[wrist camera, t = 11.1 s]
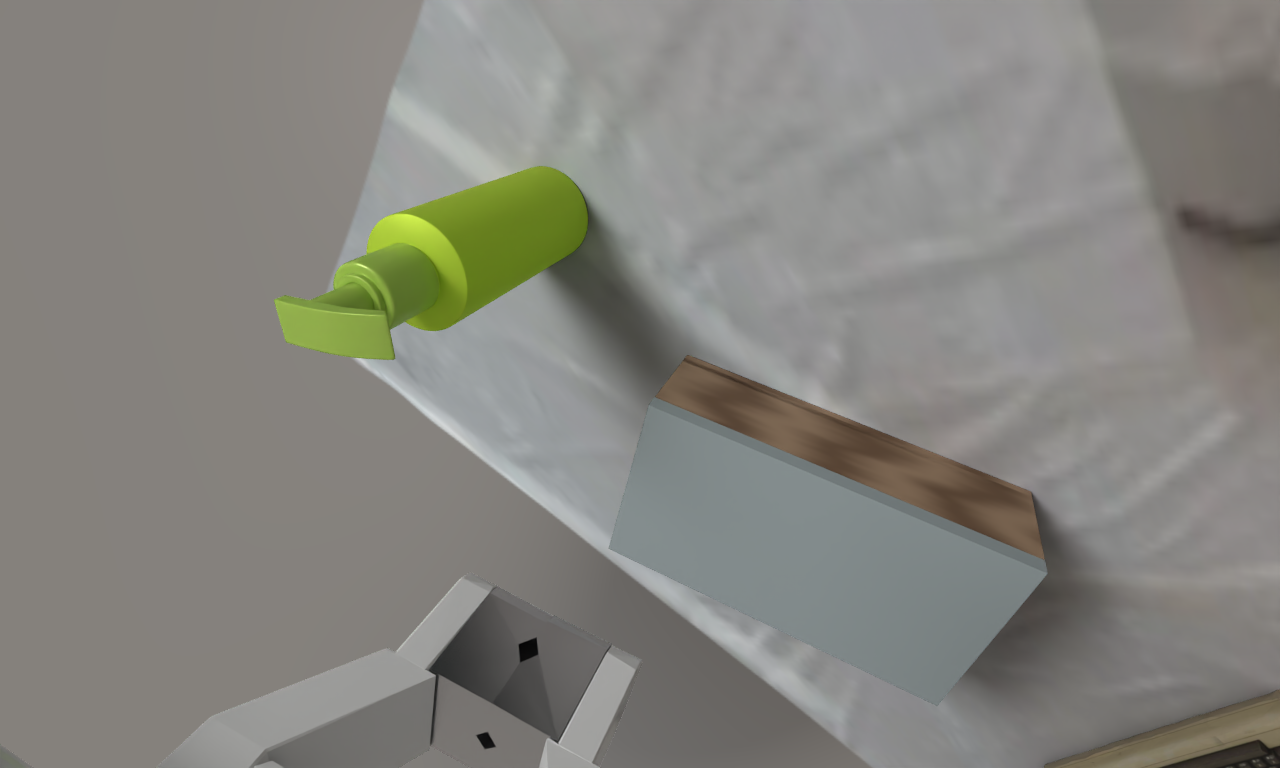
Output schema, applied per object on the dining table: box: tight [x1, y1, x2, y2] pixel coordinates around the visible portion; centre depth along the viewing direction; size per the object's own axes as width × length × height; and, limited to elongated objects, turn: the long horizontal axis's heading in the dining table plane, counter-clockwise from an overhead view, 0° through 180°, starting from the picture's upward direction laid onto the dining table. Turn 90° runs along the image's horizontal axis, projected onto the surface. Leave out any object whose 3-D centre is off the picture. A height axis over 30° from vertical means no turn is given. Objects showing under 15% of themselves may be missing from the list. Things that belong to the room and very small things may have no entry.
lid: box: [609, 397, 1048, 706], centre depth 38 cm, size 22×12×1 cm, turn 76°
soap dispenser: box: [274, 166, 588, 360], centre depth 34 cm, size 6×7×20 cm
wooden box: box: [655, 355, 1045, 560], centre depth 41 cm, size 22×12×6 cm, turn 76°
